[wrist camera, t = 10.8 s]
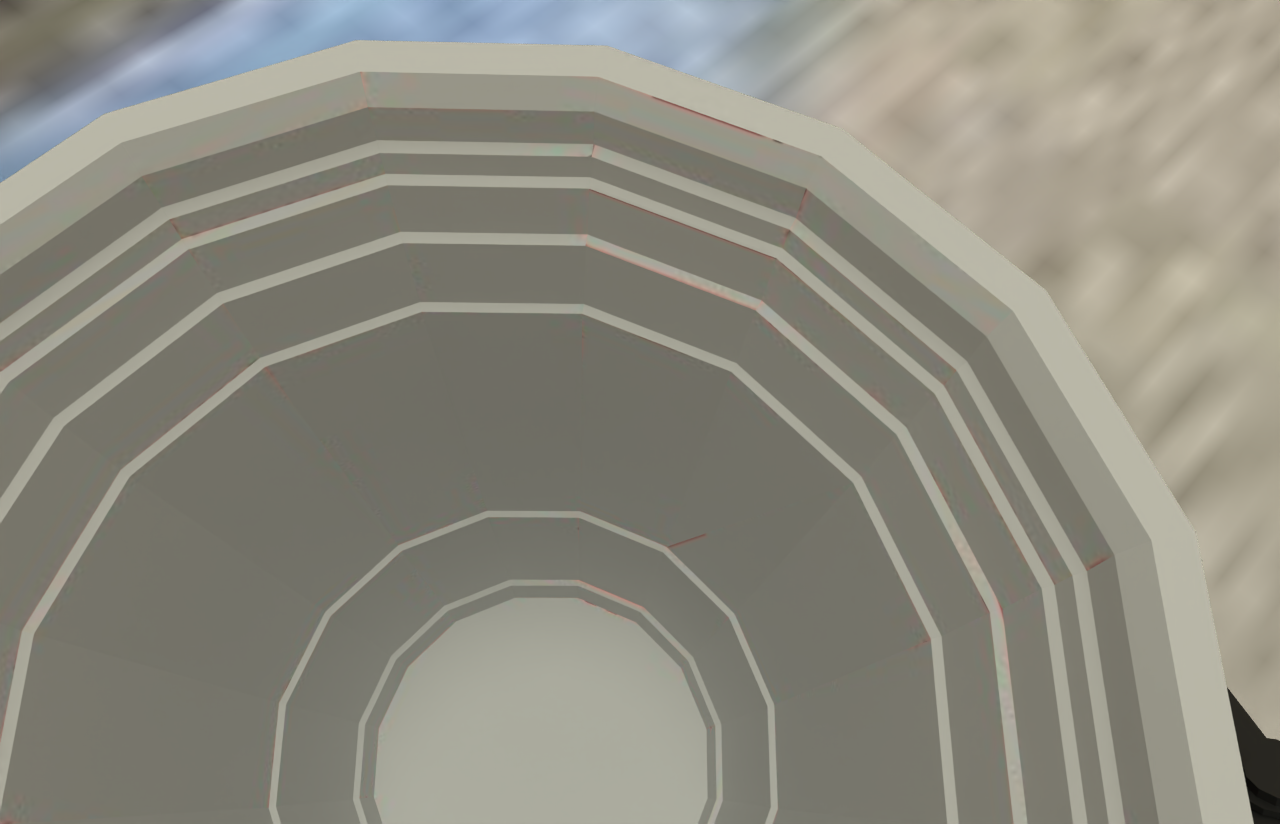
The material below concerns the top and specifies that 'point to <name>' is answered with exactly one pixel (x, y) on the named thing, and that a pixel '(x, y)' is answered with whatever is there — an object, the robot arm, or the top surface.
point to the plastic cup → (563, 475)
